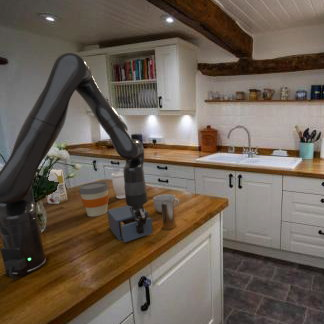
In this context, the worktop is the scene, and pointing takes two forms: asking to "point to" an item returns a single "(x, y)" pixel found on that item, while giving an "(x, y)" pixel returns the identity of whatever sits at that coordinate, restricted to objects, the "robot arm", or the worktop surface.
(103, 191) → the reusable coffee cup
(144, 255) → the worktop surface
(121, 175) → the jar
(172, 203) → the brushed steel cylinder
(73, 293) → the worktop surface
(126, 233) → the drawer
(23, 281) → the worktop surface
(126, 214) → the cabinet
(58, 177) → the juice carton
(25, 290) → the worktop surface
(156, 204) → the teacup
